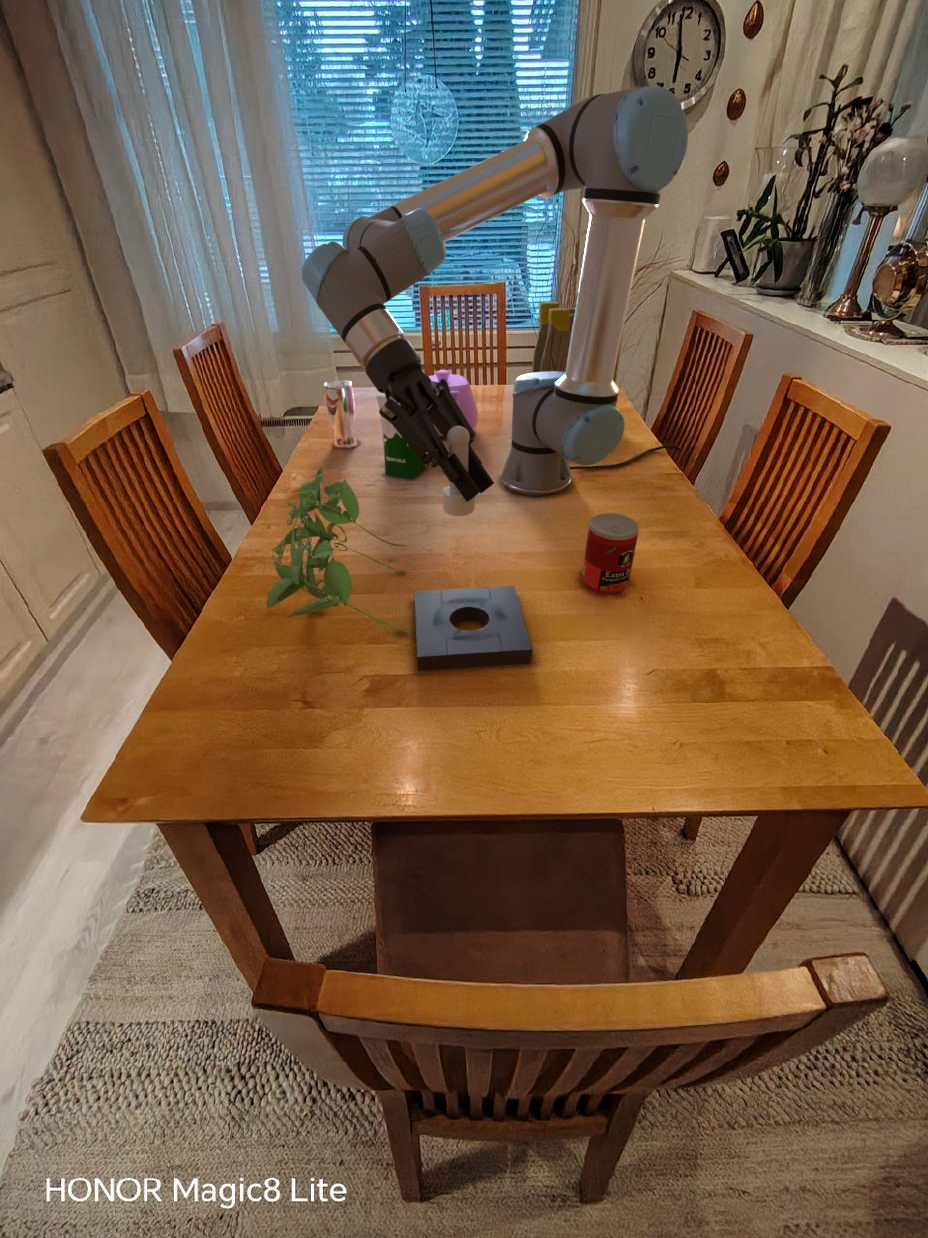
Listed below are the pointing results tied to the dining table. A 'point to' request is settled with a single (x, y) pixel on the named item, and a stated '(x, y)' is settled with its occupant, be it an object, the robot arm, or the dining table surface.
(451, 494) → the white peg with base
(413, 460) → the milk carton
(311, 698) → the dining table surface
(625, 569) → the canned food
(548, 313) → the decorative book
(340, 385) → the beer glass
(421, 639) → the plate
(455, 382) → the teapot
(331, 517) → the plant cuttings
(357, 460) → the dining table surface
